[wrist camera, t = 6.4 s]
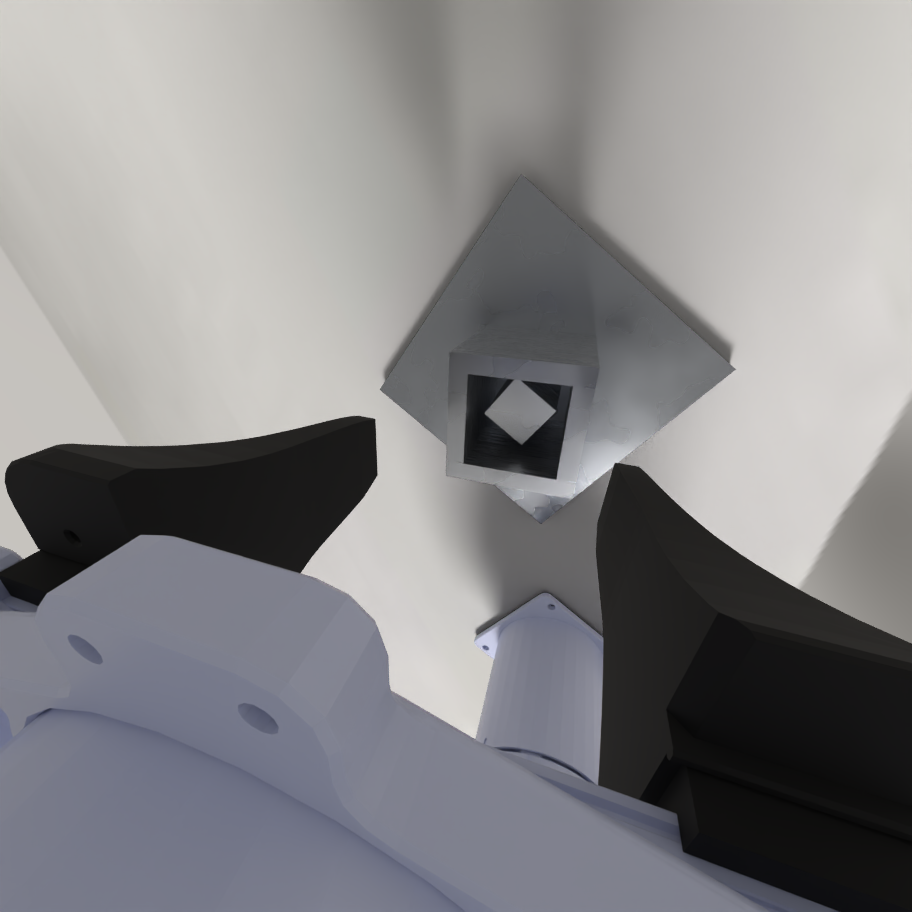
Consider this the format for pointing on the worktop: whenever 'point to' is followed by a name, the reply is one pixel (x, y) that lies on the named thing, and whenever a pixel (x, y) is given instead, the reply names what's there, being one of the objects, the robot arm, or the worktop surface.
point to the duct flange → (564, 310)
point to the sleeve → (484, 442)
